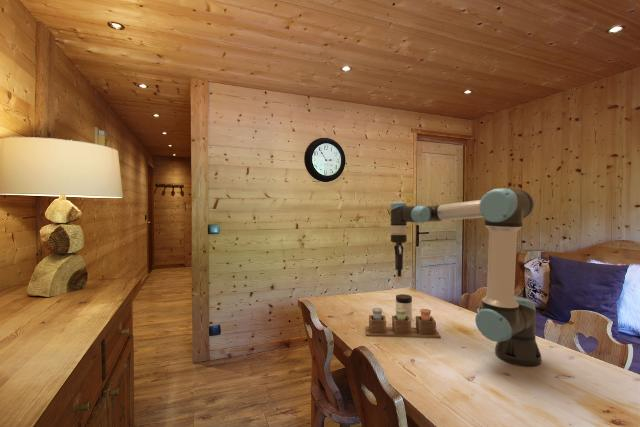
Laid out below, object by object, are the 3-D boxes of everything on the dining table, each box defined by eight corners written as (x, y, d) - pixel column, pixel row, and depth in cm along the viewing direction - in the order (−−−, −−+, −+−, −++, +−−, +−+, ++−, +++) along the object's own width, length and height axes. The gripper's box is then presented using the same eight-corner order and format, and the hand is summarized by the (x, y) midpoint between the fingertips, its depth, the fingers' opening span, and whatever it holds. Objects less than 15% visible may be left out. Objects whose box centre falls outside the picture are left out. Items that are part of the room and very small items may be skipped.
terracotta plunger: (431, 326, 145) (431, 312, 144) (421, 326, 145) (421, 311, 145) (429, 323, 149) (429, 308, 149) (419, 323, 150) (419, 308, 150)
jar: (415, 319, 166) (415, 296, 166) (406, 323, 161) (406, 299, 161) (401, 315, 173) (401, 293, 173) (392, 318, 168) (392, 295, 168)
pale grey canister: (382, 325, 147) (382, 311, 147) (372, 325, 148) (372, 310, 147) (381, 322, 152) (381, 307, 151) (372, 321, 152) (372, 307, 152)
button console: (440, 338, 142) (440, 323, 141) (366, 336, 145) (365, 321, 145) (435, 329, 152) (435, 315, 151) (365, 327, 155) (365, 314, 155)
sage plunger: (407, 326, 146) (407, 311, 146) (396, 326, 146) (396, 311, 146) (405, 322, 150) (405, 308, 150) (395, 322, 151) (395, 308, 151)
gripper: (408, 235, 147) (409, 286, 147) (404, 233, 160) (405, 279, 160) (392, 235, 148) (392, 285, 148) (389, 233, 161) (389, 279, 161)
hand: (399, 282), depth 154 cm, fingers closed
